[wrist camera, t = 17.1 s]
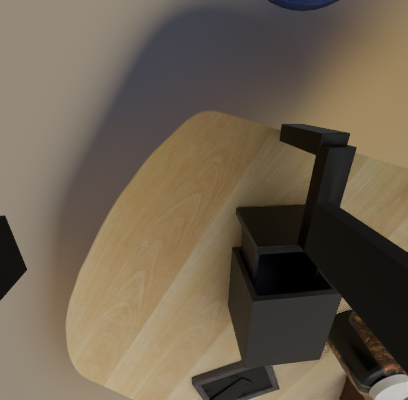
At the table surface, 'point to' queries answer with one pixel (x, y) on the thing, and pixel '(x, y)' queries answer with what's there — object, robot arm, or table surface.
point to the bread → (353, 392)
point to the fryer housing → (279, 319)
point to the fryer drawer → (294, 215)
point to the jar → (366, 359)
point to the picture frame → (235, 382)
